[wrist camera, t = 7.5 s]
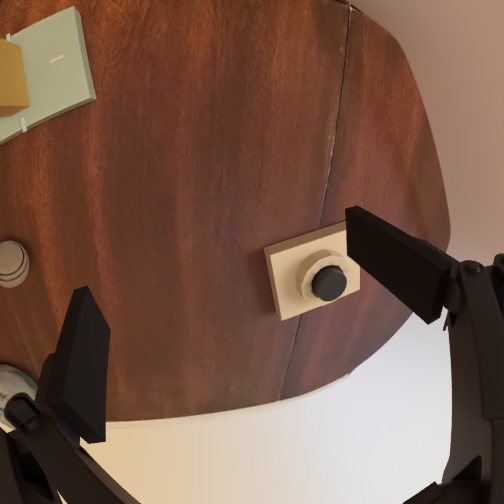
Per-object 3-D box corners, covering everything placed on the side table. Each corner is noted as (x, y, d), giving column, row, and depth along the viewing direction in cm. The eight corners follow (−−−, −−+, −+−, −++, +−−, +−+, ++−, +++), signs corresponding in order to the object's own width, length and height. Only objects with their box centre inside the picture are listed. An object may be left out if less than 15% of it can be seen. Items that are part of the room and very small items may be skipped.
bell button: (339, 261, 36) (346, 267, 35) (340, 287, 38) (347, 294, 37) (309, 272, 36) (316, 279, 34) (312, 298, 37) (319, 306, 36)
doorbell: (349, 219, 39) (367, 230, 35) (351, 281, 43) (366, 296, 40) (263, 247, 36) (275, 262, 33) (275, 311, 41) (287, 329, 38)
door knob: (42, 261, 29) (28, 284, 24) (15, 280, 28) (1, 303, 24) (18, 225, 26) (1, 244, 22) (-7, 247, 26) (-25, 267, 21)
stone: (55, 395, 32) (33, 451, 27) (45, 381, 39) (27, 428, 34) (-6, 357, 27) (-28, 417, 22) (-3, 349, 34) (-23, 398, 29)
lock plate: (80, 11, 19) (73, 2, 16) (97, 102, 24) (91, 101, 21) (-30, 71, 17) (-45, 69, 14) (-14, 156, 22) (-27, 162, 19)
